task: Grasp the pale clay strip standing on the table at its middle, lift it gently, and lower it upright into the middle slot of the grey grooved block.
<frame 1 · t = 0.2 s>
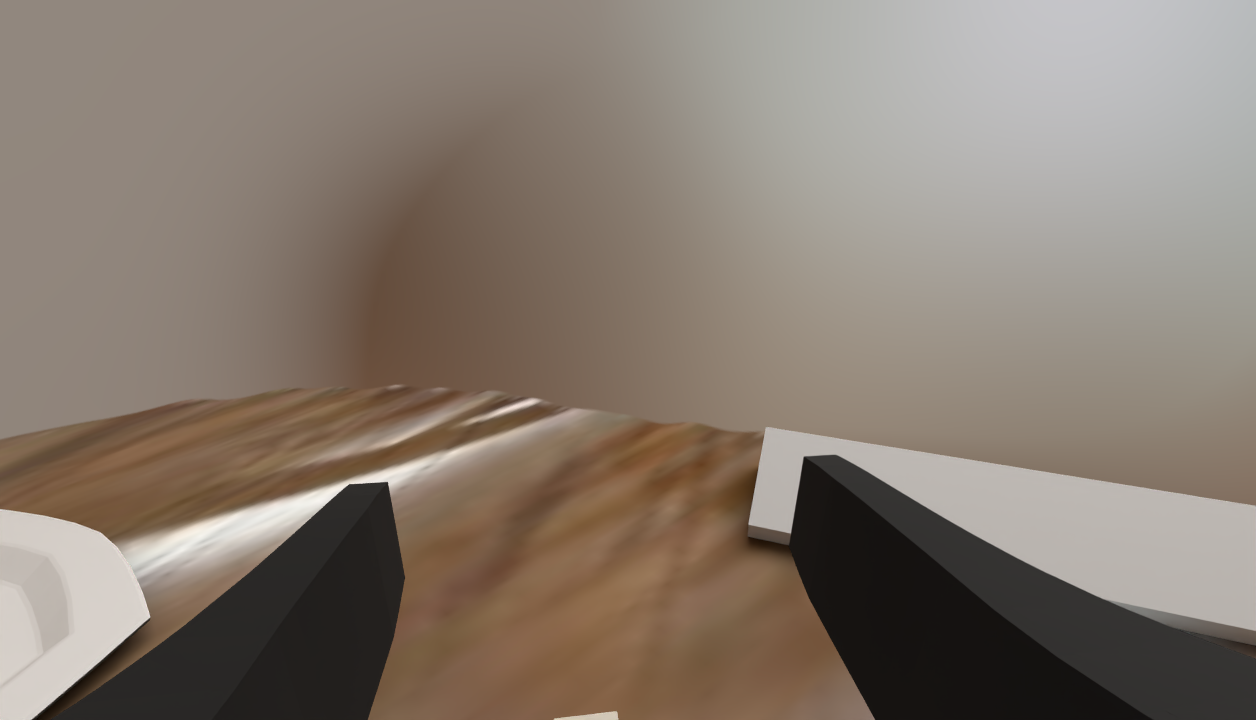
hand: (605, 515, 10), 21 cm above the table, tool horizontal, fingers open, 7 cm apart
decorative molding: (995, 556, 41), on the table
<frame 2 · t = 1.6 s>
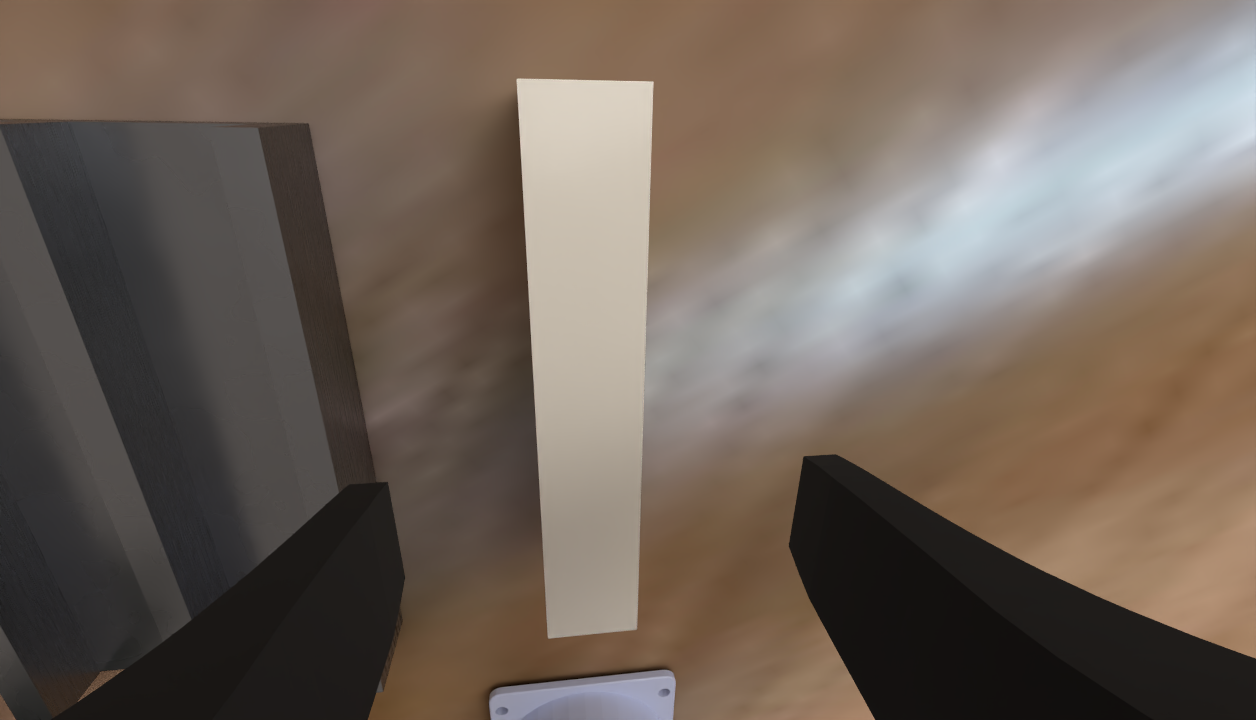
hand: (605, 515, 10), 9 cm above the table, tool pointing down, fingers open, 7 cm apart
clay strip: (576, 325, 19), on the table
grey grooved block: (93, 432, 18), on the table
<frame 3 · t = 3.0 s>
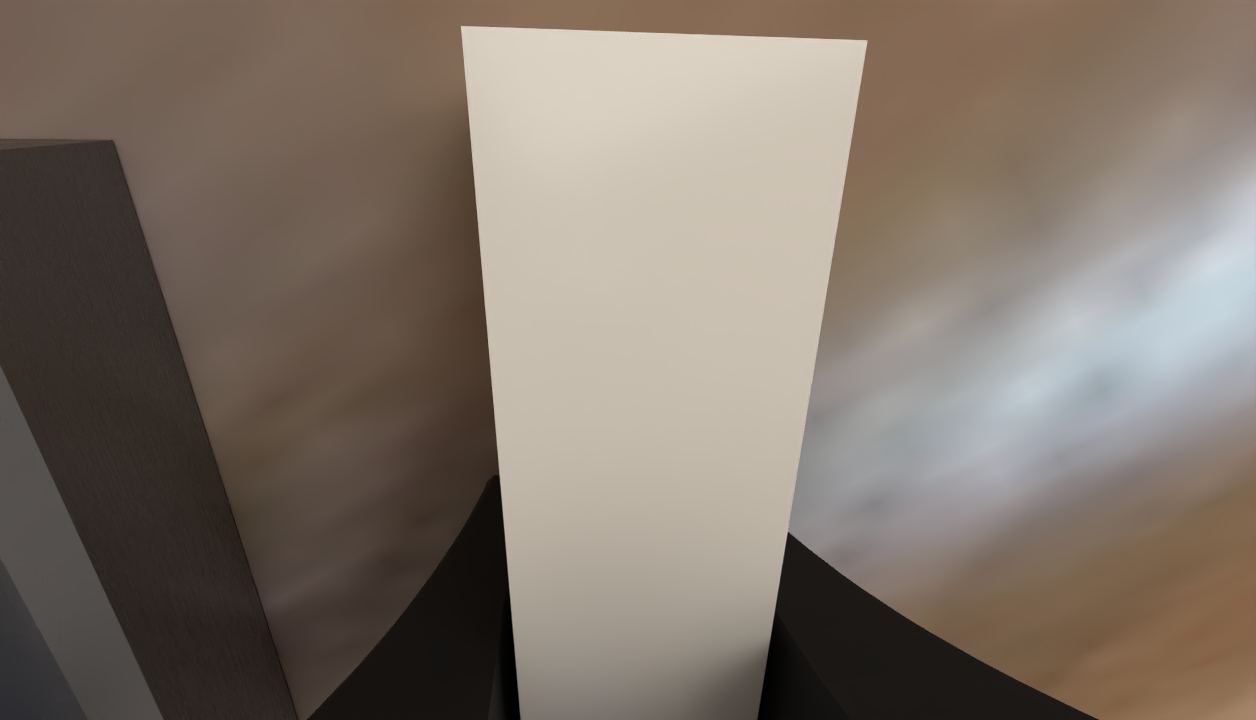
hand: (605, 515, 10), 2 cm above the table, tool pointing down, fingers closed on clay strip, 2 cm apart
clay strip: (596, 459, 12), on the table, touching gripper
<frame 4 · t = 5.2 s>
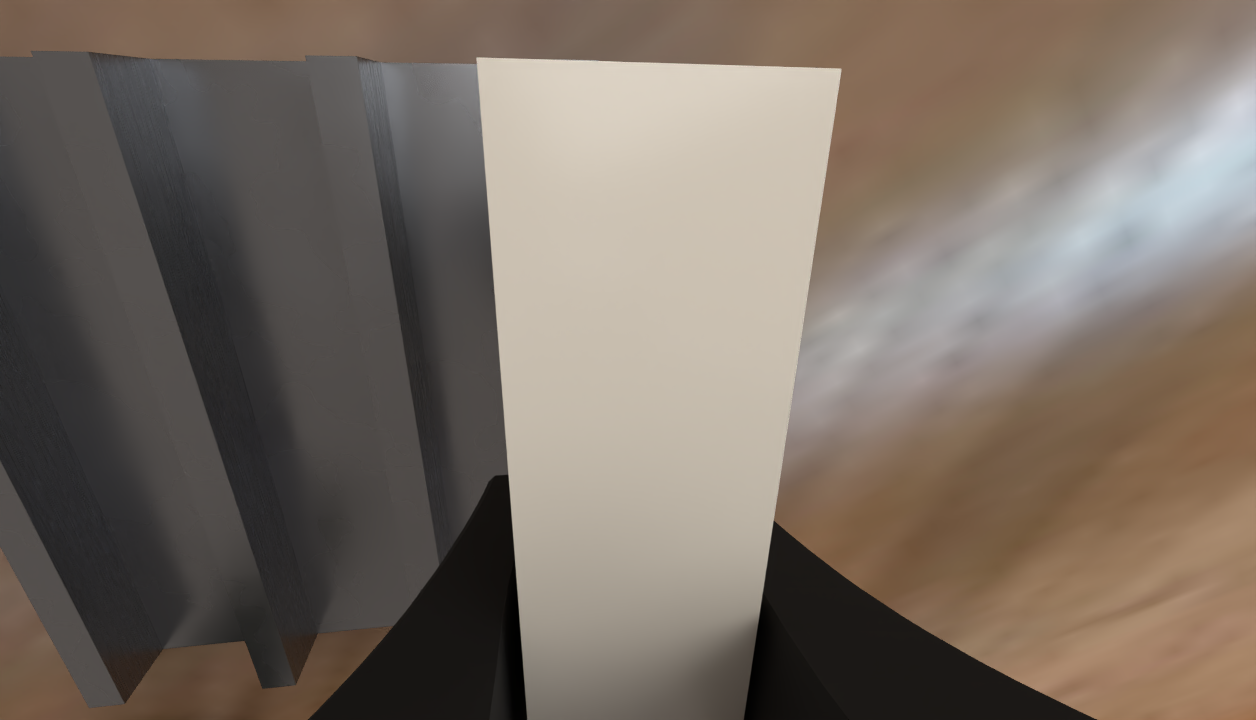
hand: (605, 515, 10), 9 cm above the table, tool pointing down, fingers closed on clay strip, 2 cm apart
clay strip: (595, 454, 12), point 7 cm above the table, touching gripper
grey grooved block: (336, 389, 18), on the table
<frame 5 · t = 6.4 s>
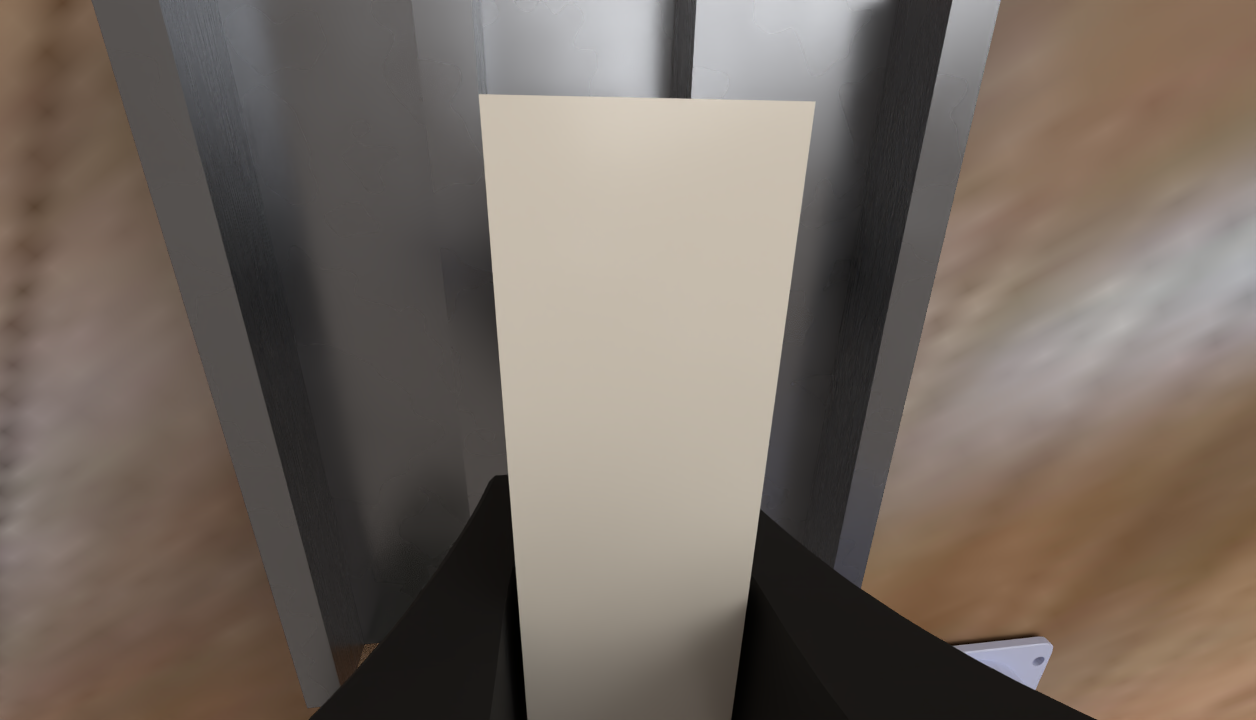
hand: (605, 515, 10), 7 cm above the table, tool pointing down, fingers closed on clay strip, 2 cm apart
clay strip: (593, 455, 12), point 4 cm above the table, touching gripper
grey grooved block: (582, 360, 16), on the table
when the fingers open (4 cm above the table, at t = 7.3 s): clay strip stays where it is, resting on grey grooved block.
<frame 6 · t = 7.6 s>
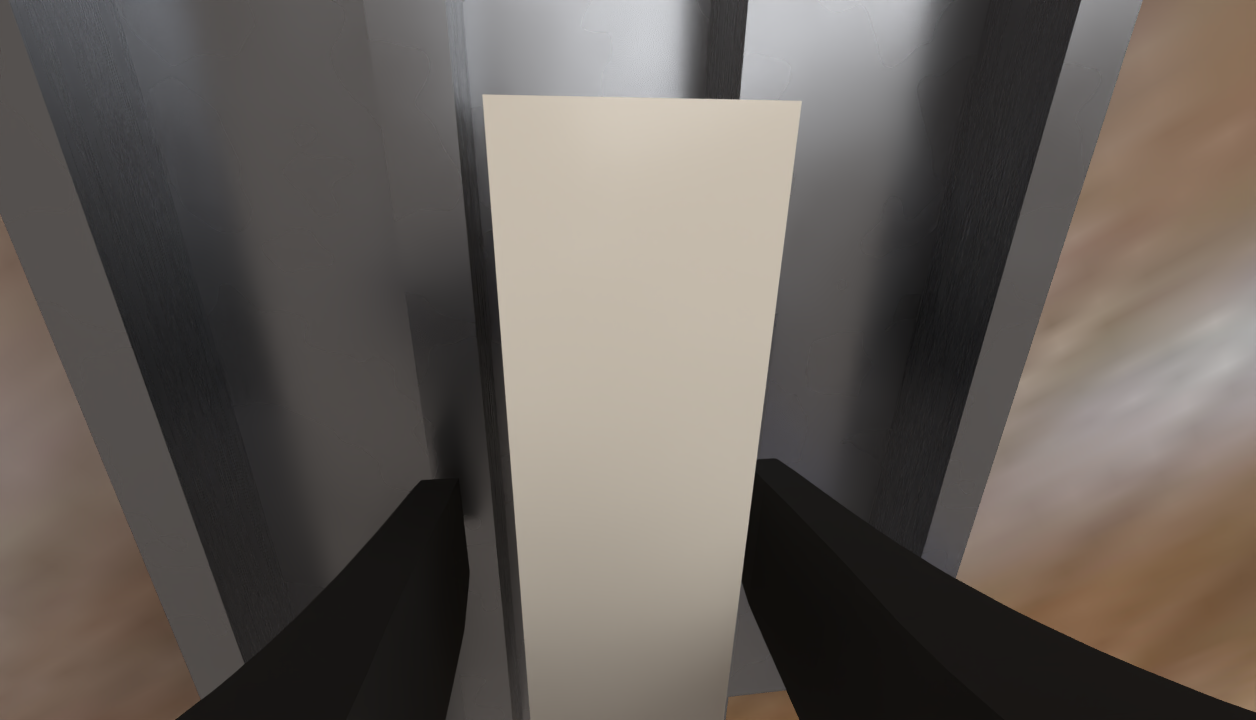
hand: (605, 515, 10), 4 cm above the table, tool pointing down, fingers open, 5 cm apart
clay strip: (593, 449, 13), point 1 cm above the table, touching grey grooved block
grey grooved block: (589, 413, 13), on the table
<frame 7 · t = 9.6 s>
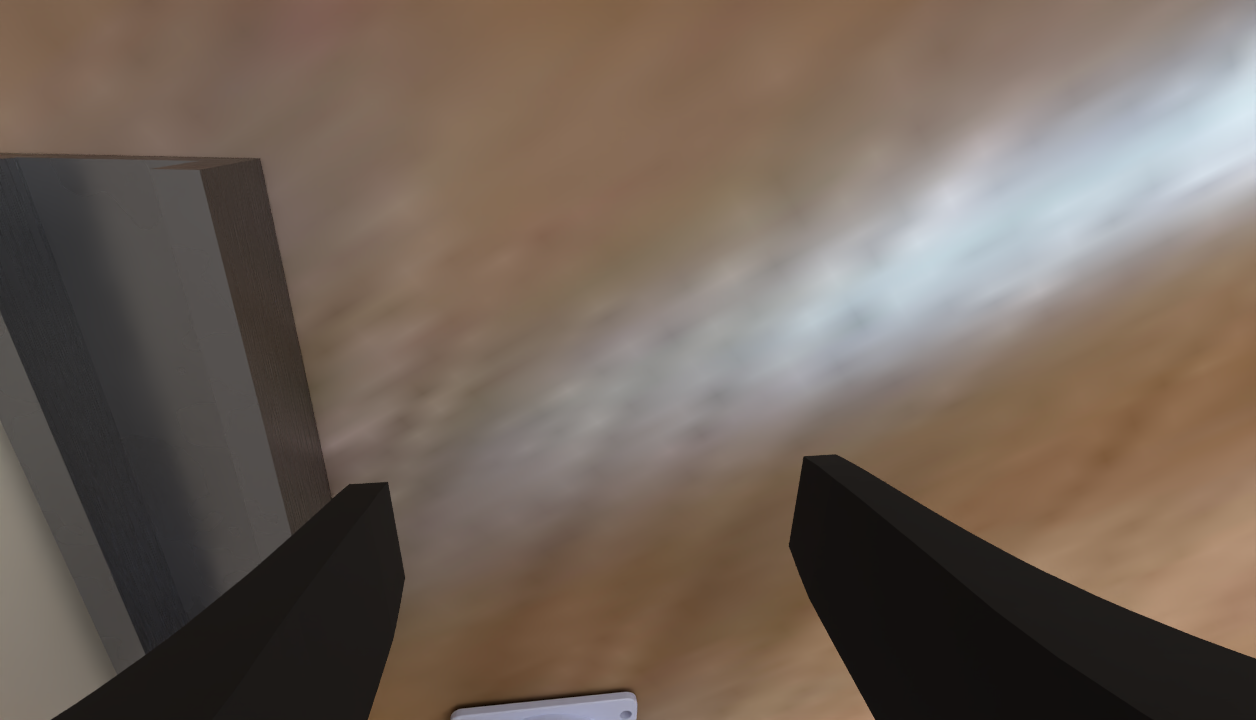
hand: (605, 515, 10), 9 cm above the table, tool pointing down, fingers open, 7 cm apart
clay strip: (25, 486, 17), point 1 cm above the table, touching grey grooved block
grey grooved block: (47, 458, 18), on the table
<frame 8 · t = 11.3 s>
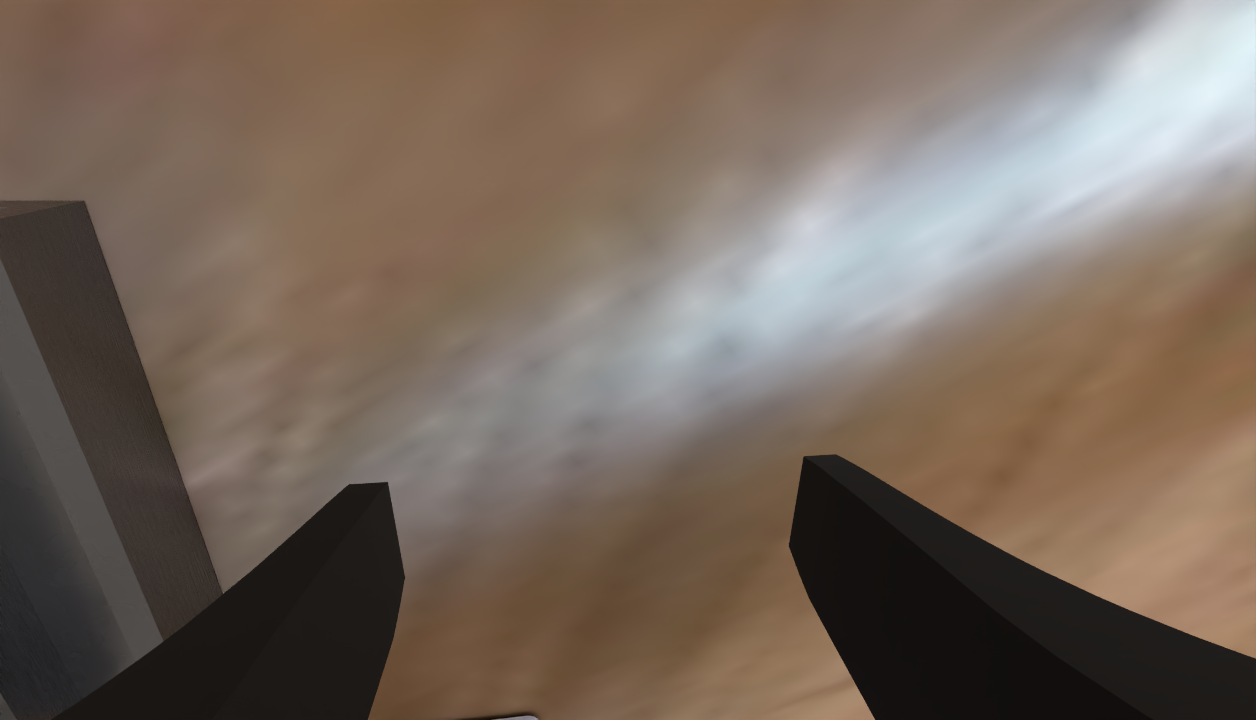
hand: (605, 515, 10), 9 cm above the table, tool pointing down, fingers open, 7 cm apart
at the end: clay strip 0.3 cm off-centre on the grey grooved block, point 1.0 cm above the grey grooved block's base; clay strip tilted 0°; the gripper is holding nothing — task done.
